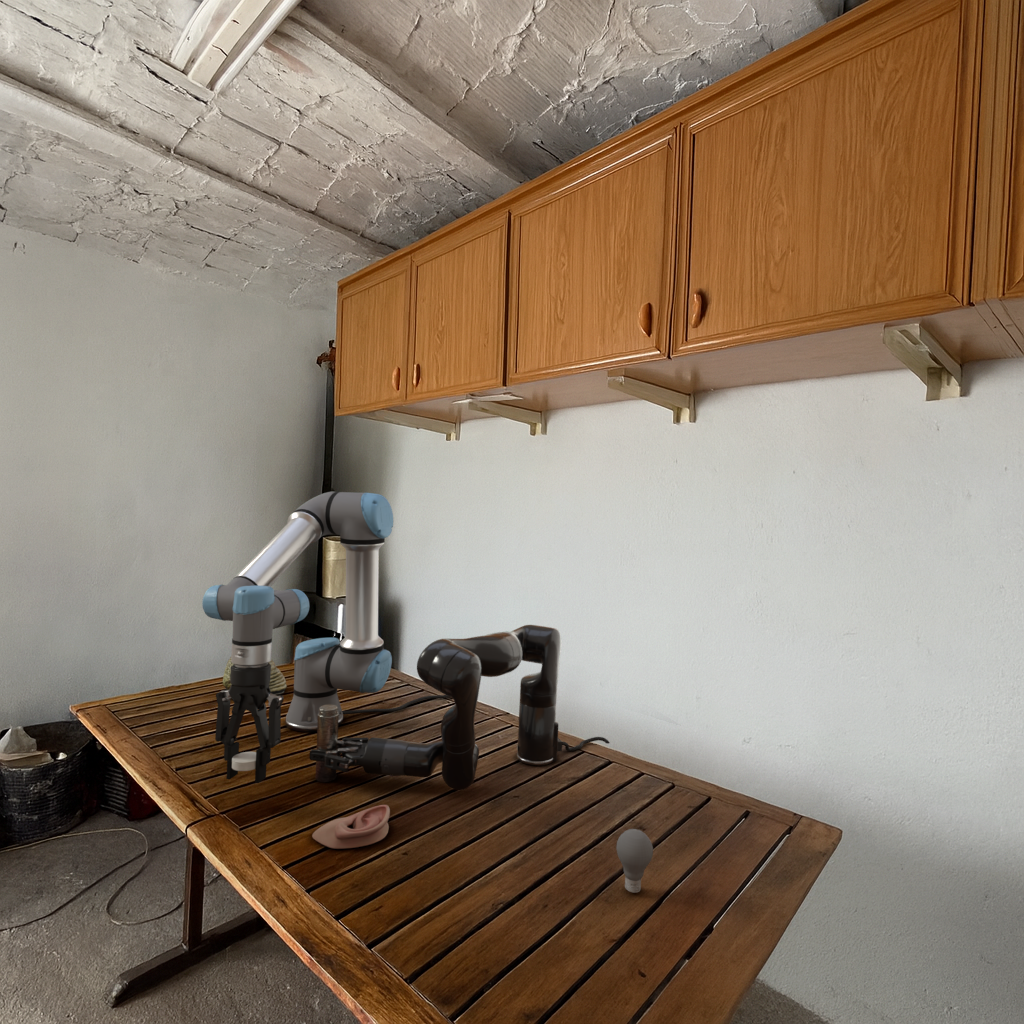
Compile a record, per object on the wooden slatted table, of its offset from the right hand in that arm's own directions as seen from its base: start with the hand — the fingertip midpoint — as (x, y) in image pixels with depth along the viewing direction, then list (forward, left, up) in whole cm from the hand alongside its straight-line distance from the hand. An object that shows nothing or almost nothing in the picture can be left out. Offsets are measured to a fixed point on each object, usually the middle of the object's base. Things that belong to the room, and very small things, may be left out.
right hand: (315, 750), depth 143 cm
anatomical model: (-6, +27, -6) cm, 28 cm away
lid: (+14, +12, +4) cm, 18 cm away
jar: (-2, +1, -6) cm, 7 cm away
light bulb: (-50, +56, -6) cm, 75 cm away
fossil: (+17, -64, -6) cm, 66 cm away
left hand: (+14, +12, 0) cm, 18 cm away
